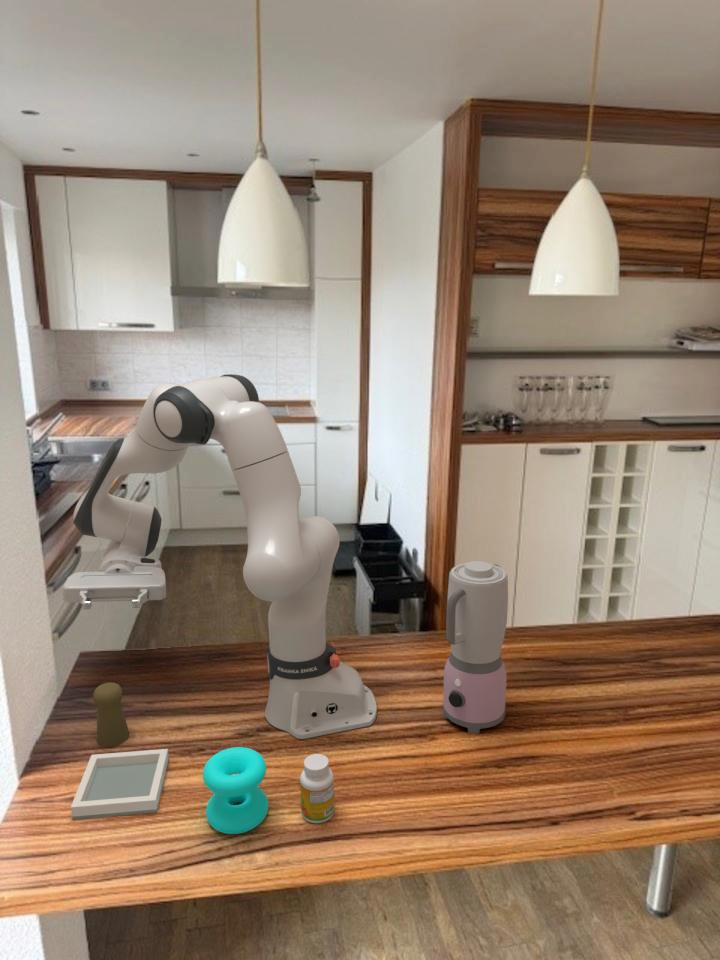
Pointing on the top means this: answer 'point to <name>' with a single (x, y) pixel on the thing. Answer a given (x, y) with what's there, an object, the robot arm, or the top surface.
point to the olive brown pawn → (110, 715)
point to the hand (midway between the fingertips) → (111, 605)
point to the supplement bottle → (317, 789)
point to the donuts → (235, 790)
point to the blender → (476, 645)
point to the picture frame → (121, 784)
